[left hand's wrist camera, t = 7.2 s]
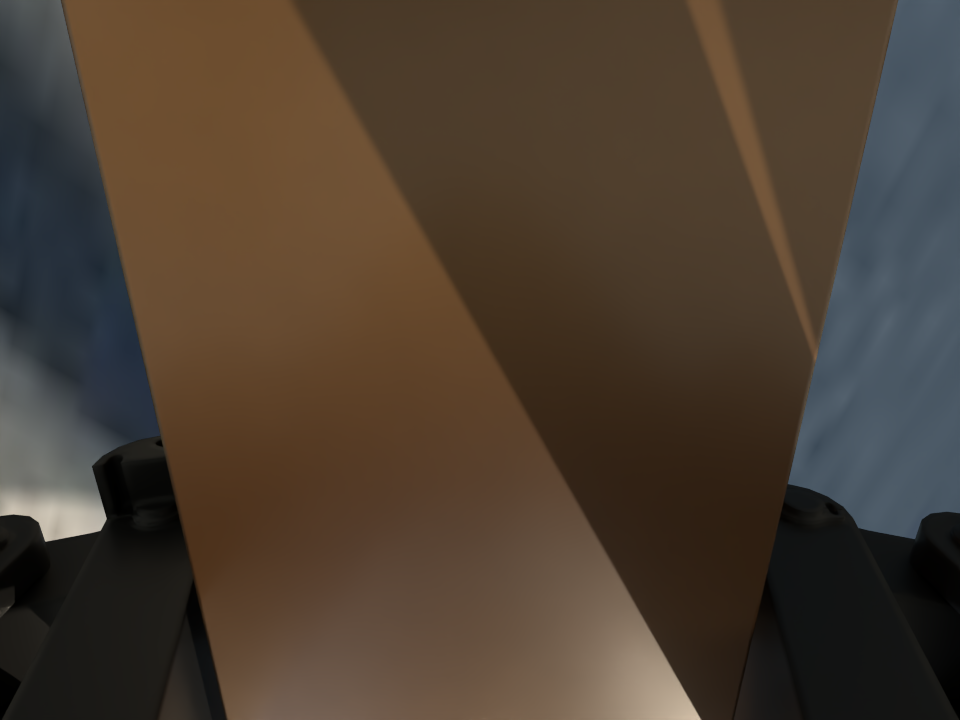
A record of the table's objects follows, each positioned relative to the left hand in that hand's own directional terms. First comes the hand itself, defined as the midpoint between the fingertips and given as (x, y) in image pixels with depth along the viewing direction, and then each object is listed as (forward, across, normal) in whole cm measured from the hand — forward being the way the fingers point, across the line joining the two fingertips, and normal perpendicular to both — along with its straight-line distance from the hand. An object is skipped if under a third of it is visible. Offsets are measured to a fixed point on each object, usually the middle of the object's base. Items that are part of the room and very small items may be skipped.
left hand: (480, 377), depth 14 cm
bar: (+1, 0, -8) cm, 8 cm away
